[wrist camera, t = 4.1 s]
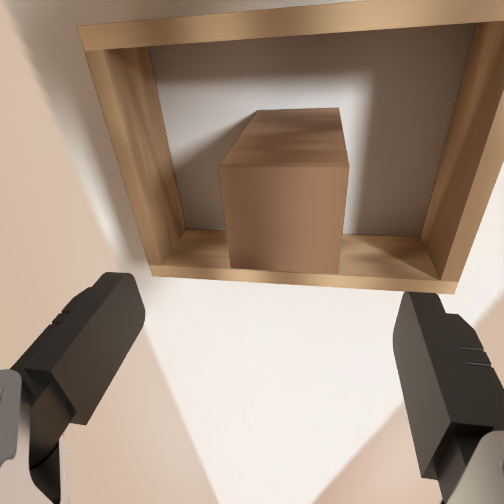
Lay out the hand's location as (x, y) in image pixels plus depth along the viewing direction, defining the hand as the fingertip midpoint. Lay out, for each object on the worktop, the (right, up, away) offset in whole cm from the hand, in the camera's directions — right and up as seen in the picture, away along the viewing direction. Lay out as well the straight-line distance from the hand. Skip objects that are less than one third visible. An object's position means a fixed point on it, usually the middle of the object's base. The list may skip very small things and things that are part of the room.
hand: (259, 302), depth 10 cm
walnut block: (+3, +8, +12) cm, 15 cm away
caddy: (+3, +8, +12) cm, 15 cm away
